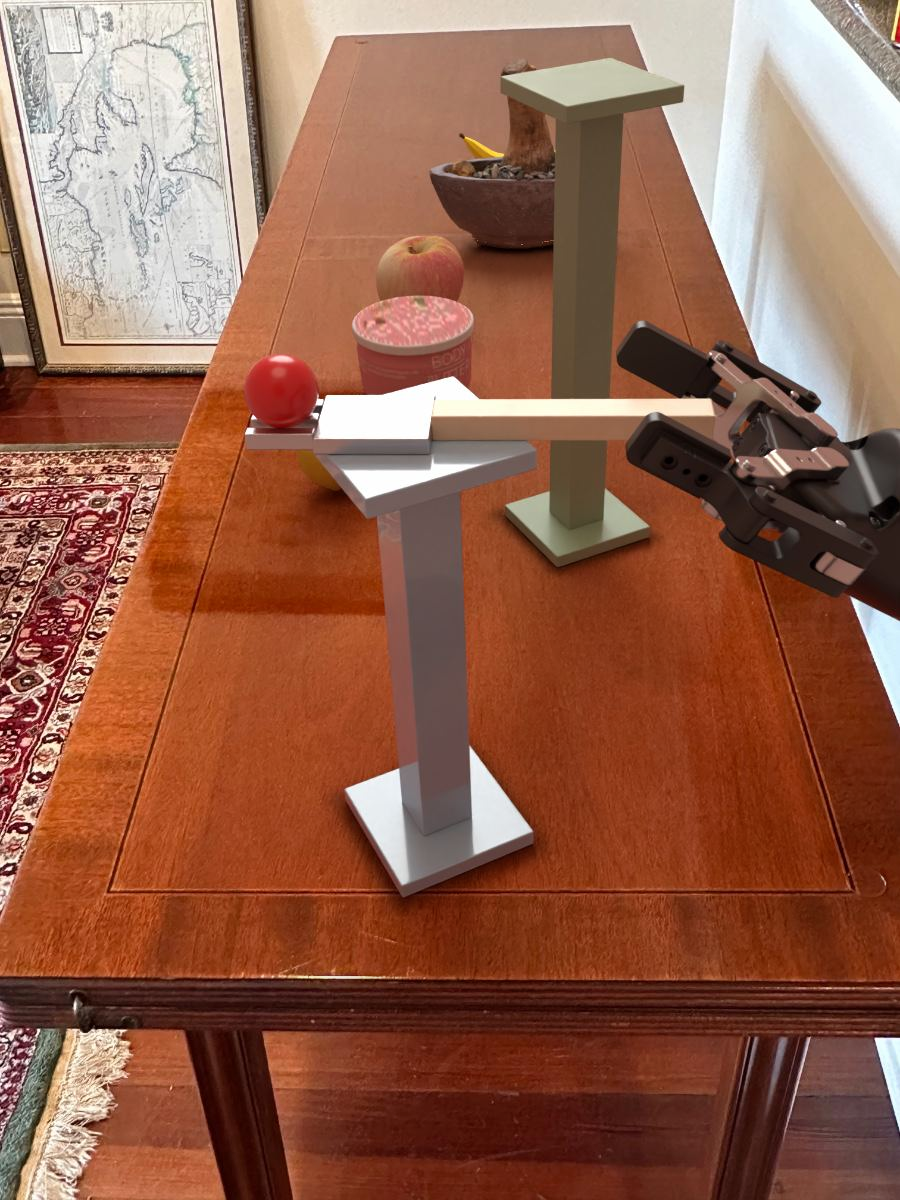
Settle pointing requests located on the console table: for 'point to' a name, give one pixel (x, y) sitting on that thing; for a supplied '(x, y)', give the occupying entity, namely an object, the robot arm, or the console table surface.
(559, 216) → the tall stand
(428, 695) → the low stand
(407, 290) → the apple
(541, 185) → the planter
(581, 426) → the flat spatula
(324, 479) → the lemon
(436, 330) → the container
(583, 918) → the console table surface
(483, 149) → the banana
